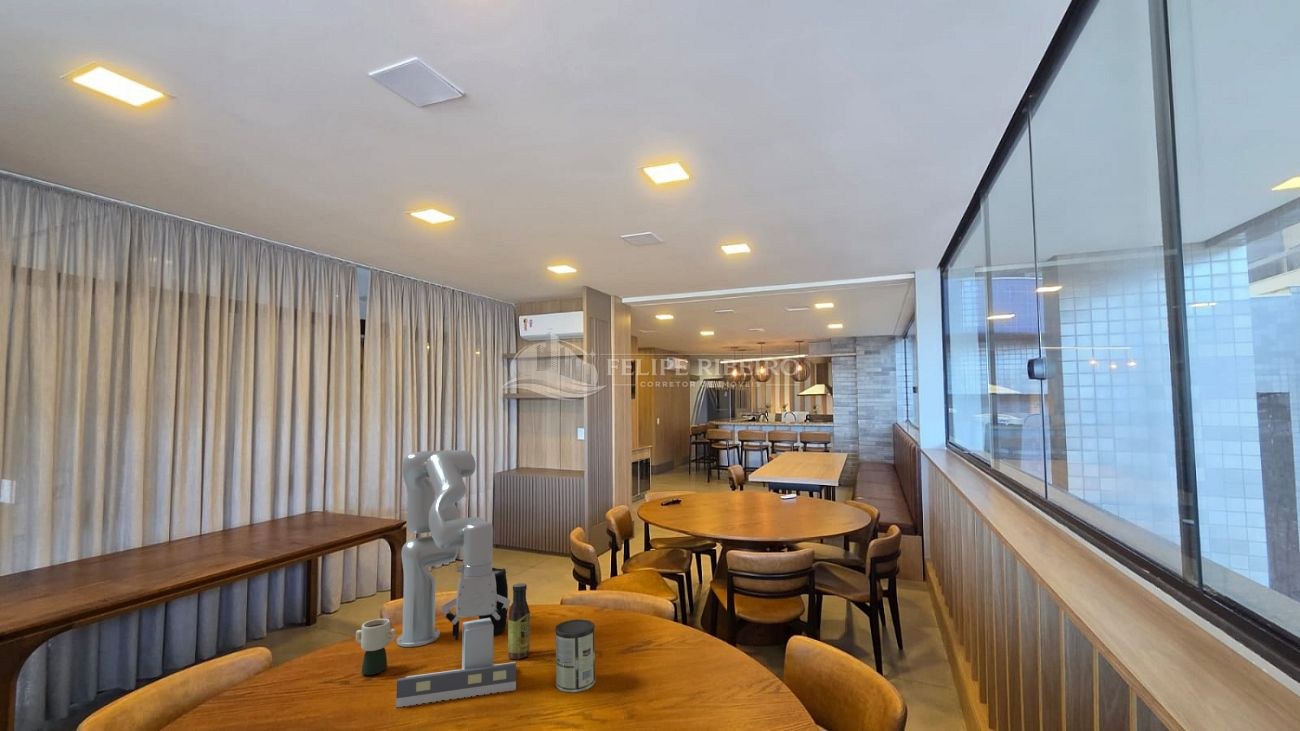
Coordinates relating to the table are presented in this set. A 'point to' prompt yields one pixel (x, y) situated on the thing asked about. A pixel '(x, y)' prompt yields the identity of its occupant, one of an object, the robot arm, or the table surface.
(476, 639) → the supplement box
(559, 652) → the coffee can
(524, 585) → the sauce bottle
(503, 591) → the portable speaker
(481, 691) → the shelf board
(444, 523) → the robot arm
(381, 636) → the character mug
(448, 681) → the rail
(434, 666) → the table surface
